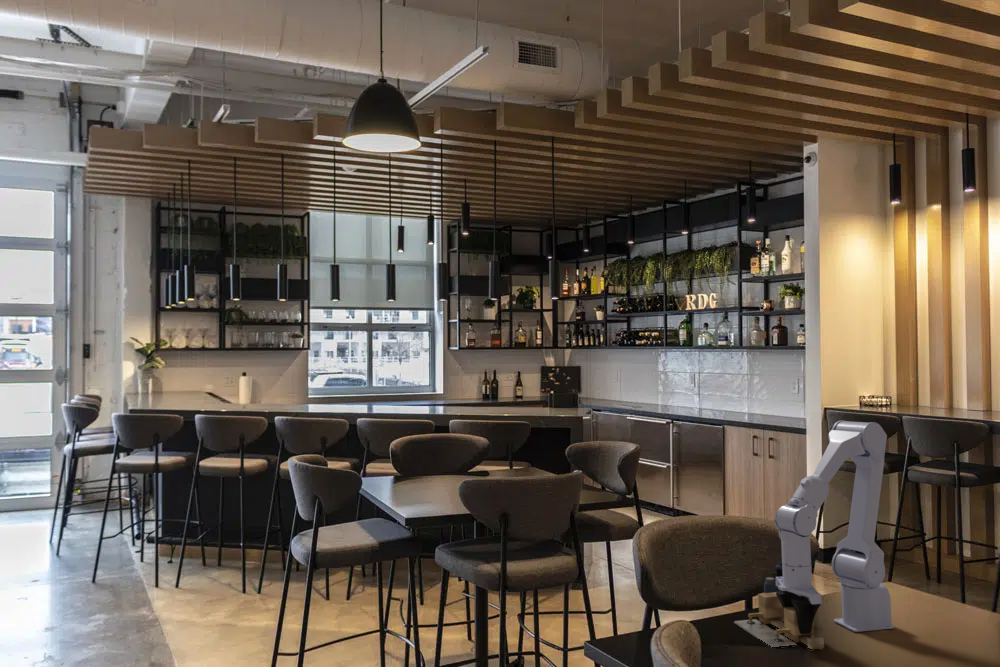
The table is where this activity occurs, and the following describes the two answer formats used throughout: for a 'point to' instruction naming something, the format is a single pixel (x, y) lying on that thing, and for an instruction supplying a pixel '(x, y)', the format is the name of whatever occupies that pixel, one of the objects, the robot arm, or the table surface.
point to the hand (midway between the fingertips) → (799, 629)
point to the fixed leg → (768, 608)
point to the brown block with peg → (792, 625)
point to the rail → (801, 636)
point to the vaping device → (773, 580)
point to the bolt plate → (764, 633)
